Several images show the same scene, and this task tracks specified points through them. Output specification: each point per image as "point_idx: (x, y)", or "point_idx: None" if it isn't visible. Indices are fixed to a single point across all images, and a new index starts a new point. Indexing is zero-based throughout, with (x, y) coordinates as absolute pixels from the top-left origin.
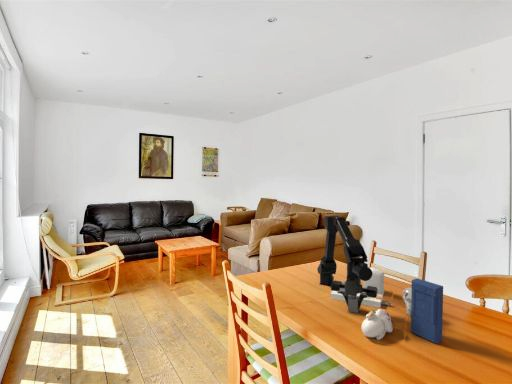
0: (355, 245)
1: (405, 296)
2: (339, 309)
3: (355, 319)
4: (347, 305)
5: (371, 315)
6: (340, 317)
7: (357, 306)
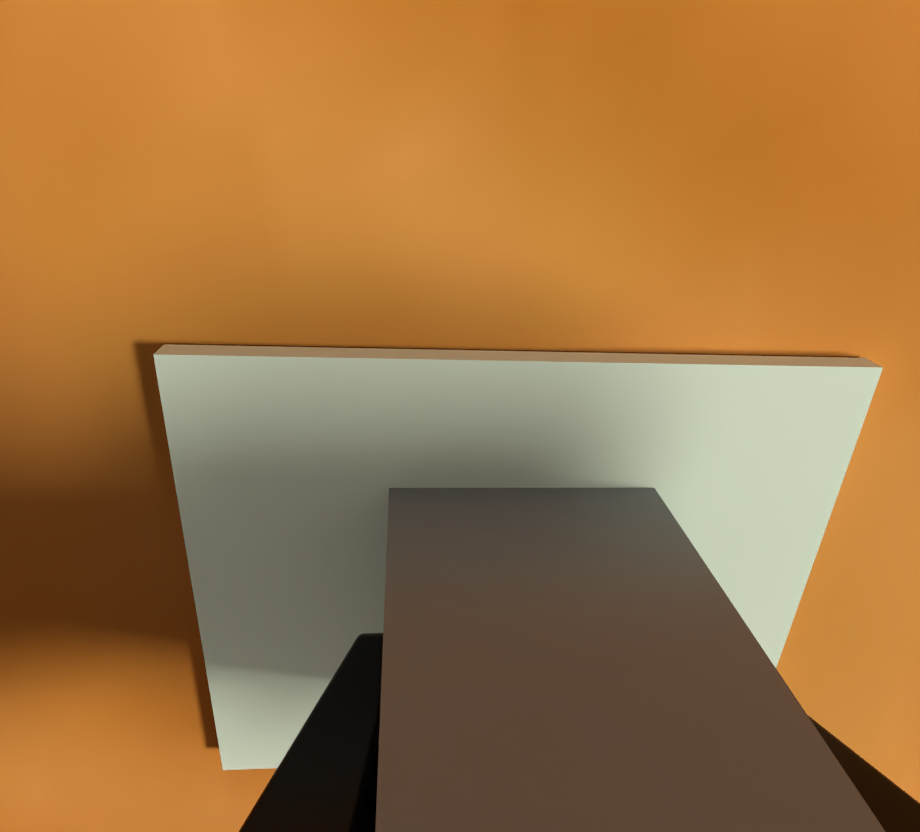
0: None
1: None
2: (852, 539)
3: (397, 132)
4: None
5: None
6: (880, 57)
7: (393, 650)
